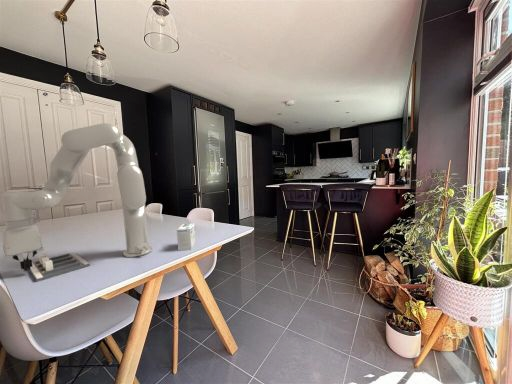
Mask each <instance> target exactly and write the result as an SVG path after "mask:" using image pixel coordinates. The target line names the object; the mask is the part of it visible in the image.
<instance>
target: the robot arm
mask: <svg viewBox="0 0 512 384" xmlns="http://www.w3.org/2000/svg"><path fill="white" fill-rule="evenodd" d="M60 139H61V146H60V148H59V150H58V151H57V153H56V154H55V155H54V157H53V159H52V160H51V162H50V164H49V170H50V171H49V176H48V179H47V181H46V182H45V184H44V185H43V187H42V189H41V190H36V191H14V192H13V191H12V192H5V193H3V194H1V203H2V210H3V216H4V217H3V218H4V224H5V229H3V230H2V248H3V249H2V250H3V252H4V253H3V259H4V260H16V261H19V262H20V269H21V270H23V271H24V272H27V271H29V270H31V269H30V267H32V262H33V261H32V260H33V258H34V257H35V256H36V255H37V254H39V253H42V252H44V251H45V248H44V247H43V239H42V235H41V233H40V228H39V227H38V224H36V223H39V222H40V218H35V216H34V210H37V211H38V210H39V211H40V210H41V211H42V210H47V209H51V208H53V207H55V206H56V205H58V204H59V203H60V202H61V200H62V198H63V197H64V195H65V194H66V192H67V191H68V190H69V187H70V185H71V183H72V182H73V179H74V178H75V176H76V174H77V172H78V170H79V169H80V167H81V165H82V164H83V162H84V160H85V158H86V157H87V155H88V153H89V152H90V150H91V149H95V148H99V147H103V146H106V147H110V148H111V149H112V150H113V152H114V156H115V161H116V167H117V172H116V177H117V178H116V179H117V182H118V188H119V195H120V199H121V205H122V213H123V225H124V237H125V245H126V250H124V251H123V253H122V254H123V255H122V256H123V257H127V258H135V257H140V256H144V255H147V254H149V253H152V251H153V249H154V248H153V246H151V245H150V244H149V243H150V242H149V241H150V240H149V231H148V230H149V229H148V220H147V219H148V218H147V217H148V216H147V209H146V202H147V195H146V188H145V180H144V177H143V172H142V170H141V168H140V167H139V160H138V156H137V151H136V148H135V146H134V143H133V142H132V141H131V140H130V139H129V137H127V136H126V135H125V134H123V133H121V132H120V130H119V129H118V128H117V127H116V126H115V125H113V124H111V123H104V122H103V123H97V124H93V125H89V126H84V127H79V128H73V129H71V130H67V131H65V132H64V133H63V134H62V135H61V138H60ZM23 254H26V255H27V256H26V258H24V256H23Z"/></svg>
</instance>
